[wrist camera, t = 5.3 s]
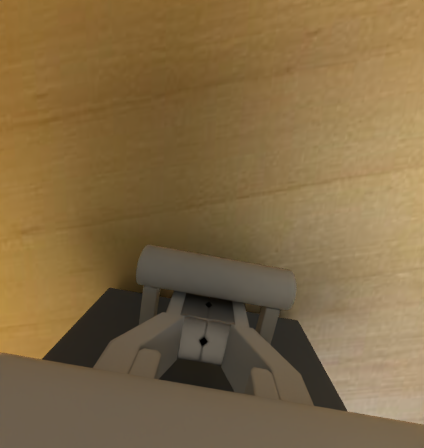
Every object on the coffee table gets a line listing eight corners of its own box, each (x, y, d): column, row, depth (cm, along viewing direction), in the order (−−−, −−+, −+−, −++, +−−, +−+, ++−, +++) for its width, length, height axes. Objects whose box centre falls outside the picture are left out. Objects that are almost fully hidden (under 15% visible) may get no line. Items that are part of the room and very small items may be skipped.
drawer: (115, 211, 13) (-36, 267, 5) (320, 248, 13) (467, 356, 5) (97, 440, 17) (-1, 657, 9) (252, 465, 17) (280, 696, 10)
